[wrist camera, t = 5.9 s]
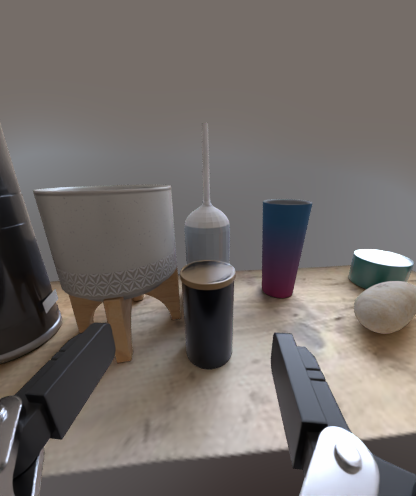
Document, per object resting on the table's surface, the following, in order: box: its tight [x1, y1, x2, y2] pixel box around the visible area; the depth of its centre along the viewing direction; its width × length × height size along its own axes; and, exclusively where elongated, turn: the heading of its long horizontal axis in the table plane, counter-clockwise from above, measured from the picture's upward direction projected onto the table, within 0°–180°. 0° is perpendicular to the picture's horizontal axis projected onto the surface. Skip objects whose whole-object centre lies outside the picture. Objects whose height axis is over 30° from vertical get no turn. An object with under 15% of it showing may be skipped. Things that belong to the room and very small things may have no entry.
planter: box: [33, 185, 181, 363], centre depth 25 cm, size 13×13×18 cm
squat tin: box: [348, 249, 414, 289], centre depth 36 cm, size 8×8×5 cm
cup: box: [262, 199, 312, 298], centre depth 32 cm, size 7×7×15 cm
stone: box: [354, 281, 416, 334], centre depth 26 cm, size 6×6×12 cm
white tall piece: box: [185, 122, 230, 264], centre depth 29 cm, size 8×8×25 cm
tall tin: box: [180, 260, 235, 369], centre depth 21 cm, size 5×5×10 cm
